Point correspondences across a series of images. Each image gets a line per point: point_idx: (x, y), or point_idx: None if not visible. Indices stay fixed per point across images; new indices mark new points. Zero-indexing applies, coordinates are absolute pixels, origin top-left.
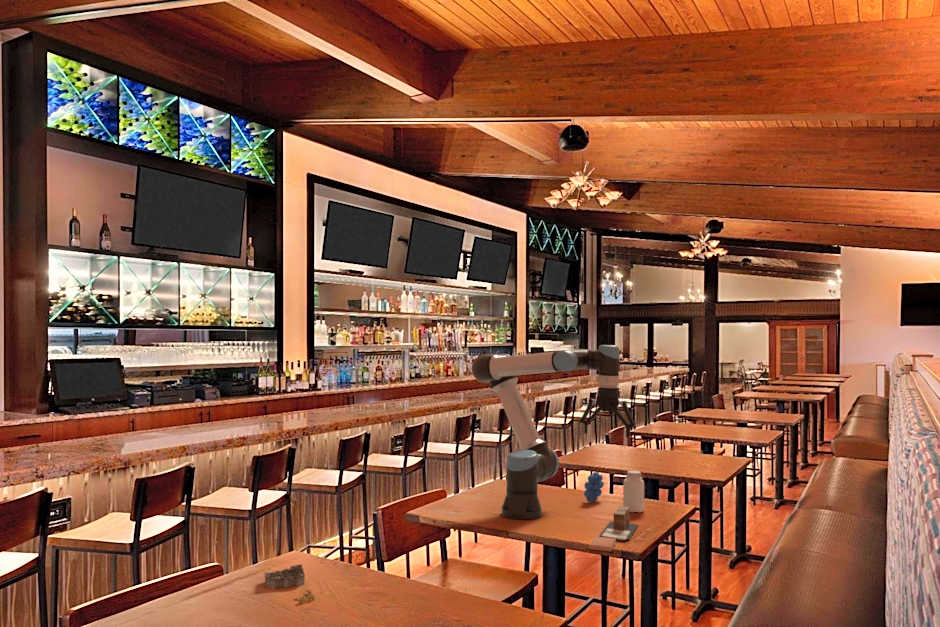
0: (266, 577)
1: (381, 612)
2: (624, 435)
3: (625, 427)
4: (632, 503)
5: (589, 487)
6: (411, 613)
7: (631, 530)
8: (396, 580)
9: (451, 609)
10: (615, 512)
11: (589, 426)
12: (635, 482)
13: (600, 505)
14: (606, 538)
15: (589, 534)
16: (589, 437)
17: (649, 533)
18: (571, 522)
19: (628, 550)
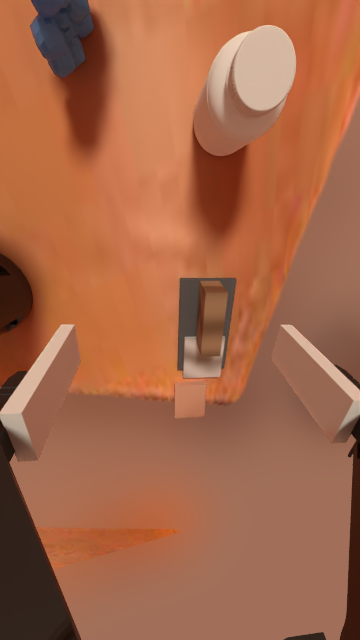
0: None
1: (71, 558)
2: (305, 400)
3: (354, 402)
4: (225, 153)
5: (62, 55)
6: (90, 553)
7: (225, 323)
8: (37, 531)
9: (111, 543)
10: (202, 347)
11: (40, 447)
12: (255, 135)
13: (118, 88)
14: (192, 388)
15: (159, 359)
16: (69, 373)
17: (255, 315)
18: (107, 304)
19: (224, 400)
